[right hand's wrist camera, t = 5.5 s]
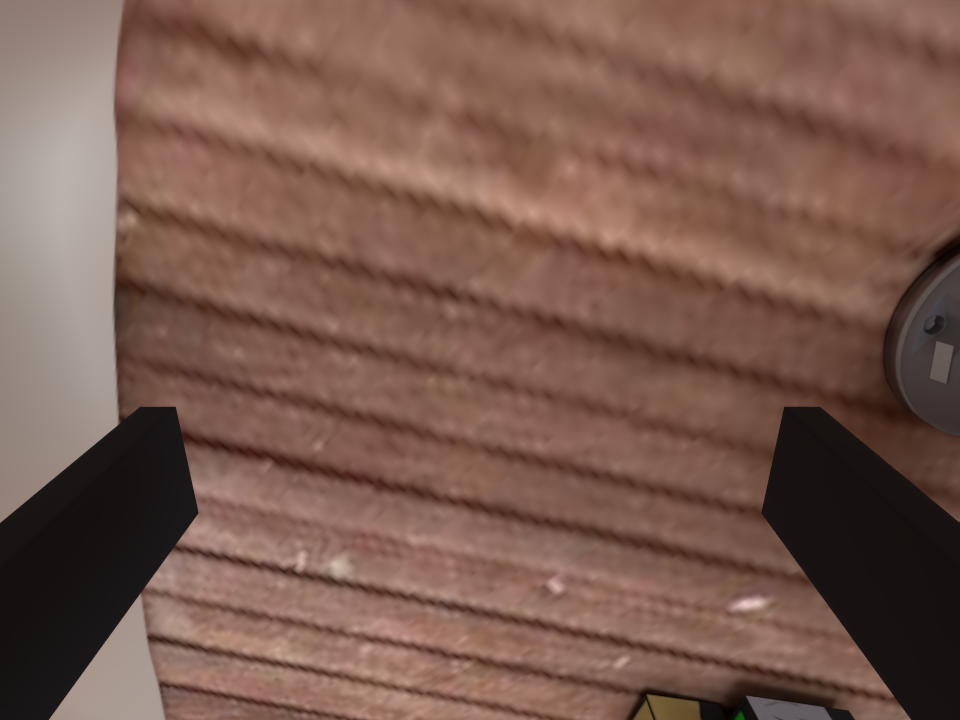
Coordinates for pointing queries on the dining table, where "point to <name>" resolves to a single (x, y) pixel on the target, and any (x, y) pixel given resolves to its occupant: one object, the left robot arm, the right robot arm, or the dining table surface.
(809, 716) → the toy
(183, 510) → the right robot arm
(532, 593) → the dining table surface
